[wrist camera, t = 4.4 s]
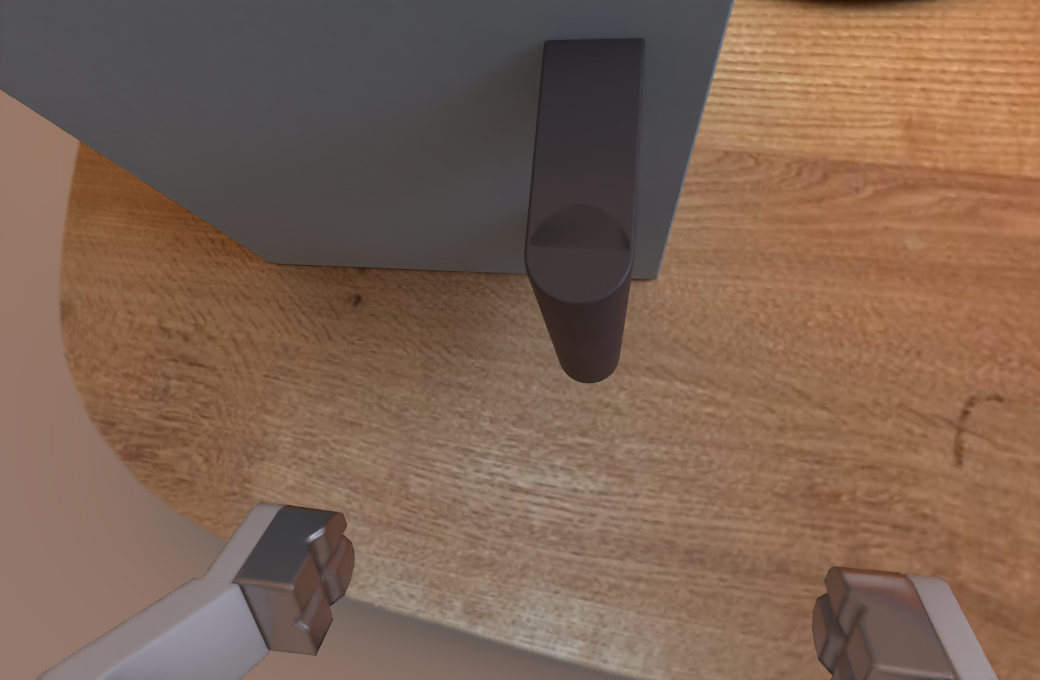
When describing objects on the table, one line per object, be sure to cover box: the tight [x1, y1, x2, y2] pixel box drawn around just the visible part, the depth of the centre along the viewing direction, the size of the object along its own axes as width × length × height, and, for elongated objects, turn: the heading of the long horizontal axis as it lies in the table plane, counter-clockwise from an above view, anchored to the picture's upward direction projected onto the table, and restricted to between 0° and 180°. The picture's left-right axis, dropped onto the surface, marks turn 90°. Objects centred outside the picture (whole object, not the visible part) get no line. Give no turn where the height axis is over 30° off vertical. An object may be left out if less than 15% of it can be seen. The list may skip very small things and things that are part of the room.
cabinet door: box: [0, 0, 734, 383], centre depth 16 cm, size 6×18×20 cm, turn 85°
